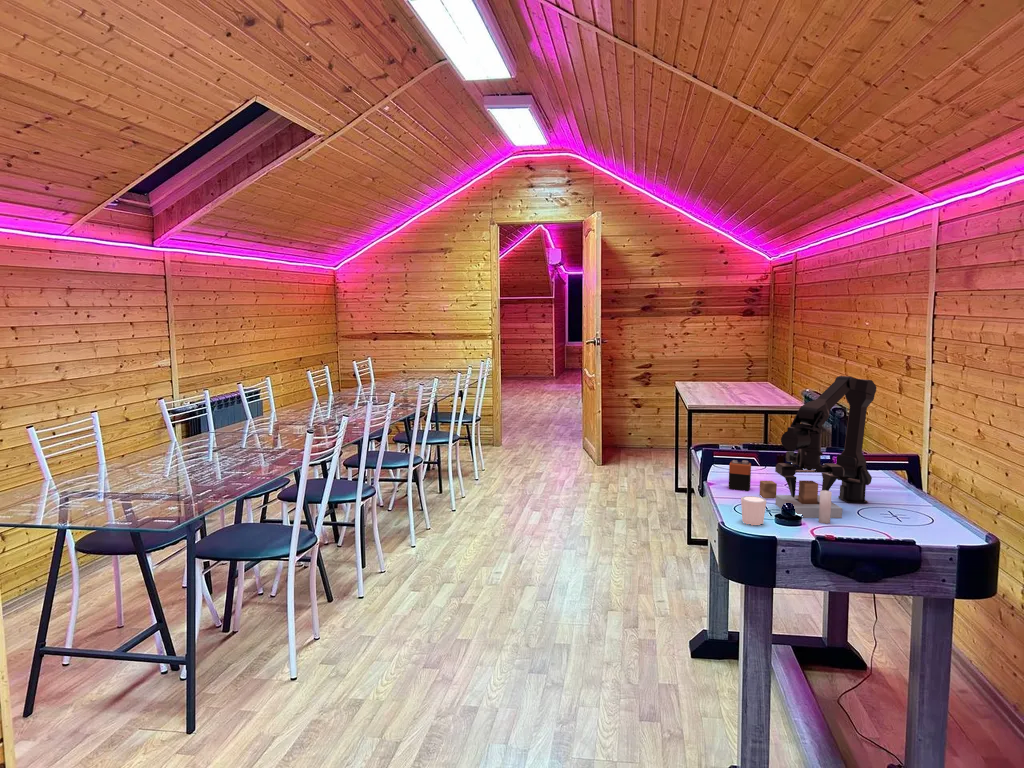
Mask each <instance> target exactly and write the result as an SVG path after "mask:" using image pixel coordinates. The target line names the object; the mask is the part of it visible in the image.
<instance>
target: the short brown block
mask: <svg viewBox="0 0 1024 768" xmlns="http://www.w3.org/2000/svg"><path fill="white" fill-rule="evenodd" d="M777 485H778V484H777V483H776V482H775V481H773V480H759V496H760V495H761V496H762V497H761V496H760V497H761V498H763V499H774V500H776V495H777V491H778V490H777Z"/></svg>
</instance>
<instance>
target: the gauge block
mask: <svg viewBox="0 0 1024 768" xmlns="http://www.w3.org/2000/svg"><path fill="white" fill-rule="evenodd" d="M832 494H833V492H832V491H831V490H829V491H826V490H822V489H820V490H819V494H818V500H817V504H801V503H800V502H798V497H799V494H795V497H792V496H791V494H788V495H787V494H776V499H775V505H776V506H777V507H779V508H780V509H781V508H782V506H783V504H785V503H792V504H793V506H794V509H795V512H796V513H797V514H802V515H803V517H804V519H806V518H807V519H809V518H810V519H814V518H815V519H818V523H821V524H824V523H825V524H827V525H828V523H829V524H830V523H831V519H842V517H843V507H841V506H839V505H837V504H836V503H834V502H833V501H832Z"/></svg>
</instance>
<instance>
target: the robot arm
mask: <svg viewBox="0 0 1024 768" xmlns="http://www.w3.org/2000/svg"><path fill="white" fill-rule="evenodd" d="M876 392H877V385H876V384H875V382H874V381H873V380H872V379H864V378H863V379H862V378H855V377H853V376H850V375H849V376H848V375H839V376H837V377H836V378H835V380H834V381H833V382H832V383H831V385H829V386H828V387H827V388H826V389H825V390H824V391H823V392H822V393H821V394H820V395H819V396H818V397H817V398H816V399H814V400H810V401H806V403H804V404H803V405H801V406H800V407H799V409H798V410H797V412H796V415H795V416H794V418H793V420H792V422H791V424H790V426H788V427H787V431H785V432H784V433H783V434H782V435H781V437H780V442H781V445H782V447H783V448H784V449H785V450H786V452H785V461H786V462H787V463H785V462H778V463H776V465H775V470H774V471H775V473H777V474H778V475H780V477H783V478H784V480H785V481H786V483H787V486H788V489H789V492H790V495H791V496H792V497H795V495H796V489H797V488H796V486H797V477H796V473H797V474H798V473H815V474H816V473H819V474H821V477H822V484H821V490H826V491H830V489H831V488H832V486H833V485H834V483H835V482H836V481H837V480H838V481H841V484H840V486H839V495H838V498H839V499H840V500H842V501H844V502H846V503H848V504H849V503H850V504H851V503H853V504H859V503H860V504H861V503H863V504H867V503H869V502H868V500H866V486H869V485H871V483H872V480H873V479H872V478H873V477H872V475H871V474H870V472H869V470H868V468H867V460H866V458H865V456H864V454H863V445H864V436H865V425H866V418H867V413H868V412H867V410H868V407H869V406H870V404H872V402H873V401H874V399H875V395H876ZM844 397H845V399H846V402H847V404H848V405H849V410H848V417H847V418H848V419H847V424H846V426H847V427H846V433H845V435H846V436H845V442H844V449H843V451H842V452H841V453H840V454H837V455H836V456H835V457H836V460H835V461H836V462H835V463H831V462H830V463H829V462H828V463H823V464H821V456H823V455H824V453H823V451H822V448H821V447H822V435H823V434H822V433H825V432H826V428H824V426H823V425H825V423H826V421H828V419H829V418H830V411H831V410H832V408H834V407H835V405H836V404H838V402H840V401H841V399H842V398H844ZM796 450H797V453H795V452H794V451H796ZM789 462H790V463H789Z"/></svg>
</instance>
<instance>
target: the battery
mask: <svg viewBox="0 0 1024 768" xmlns="http://www.w3.org/2000/svg"><path fill="white" fill-rule="evenodd" d="M728 465H729V466H728V467H729V469H728V489H729V490H734V489H735V490H736V491H743V490H745V492H749V491H750V489H751V479H752V478H751V477H752V475H751V473H752V463H751V462H749V461H748V460H742V461H738V460H737V459H736V460H735V459H733V460H731V461H730V463H729V464H728Z"/></svg>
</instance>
